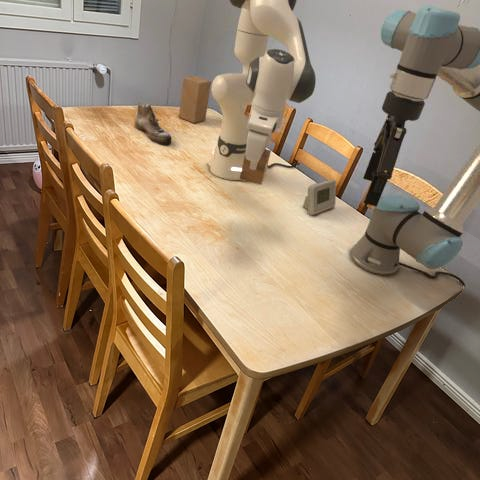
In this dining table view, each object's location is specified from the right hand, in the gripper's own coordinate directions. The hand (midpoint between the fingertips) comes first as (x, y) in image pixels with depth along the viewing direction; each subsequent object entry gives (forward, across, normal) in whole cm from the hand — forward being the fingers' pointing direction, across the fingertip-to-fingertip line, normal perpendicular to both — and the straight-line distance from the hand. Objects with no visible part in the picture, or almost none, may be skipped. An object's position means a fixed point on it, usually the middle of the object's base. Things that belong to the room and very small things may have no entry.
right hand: (369, 191), depth 98 cm
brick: (+14, -21, -29) cm, 38 cm away
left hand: (+10, -21, -29) cm, 37 cm away
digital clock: (+36, -59, -6) cm, 70 cm away
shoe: (+36, -86, -84) cm, 126 cm away
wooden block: (+36, -121, -78) cm, 148 cm away
